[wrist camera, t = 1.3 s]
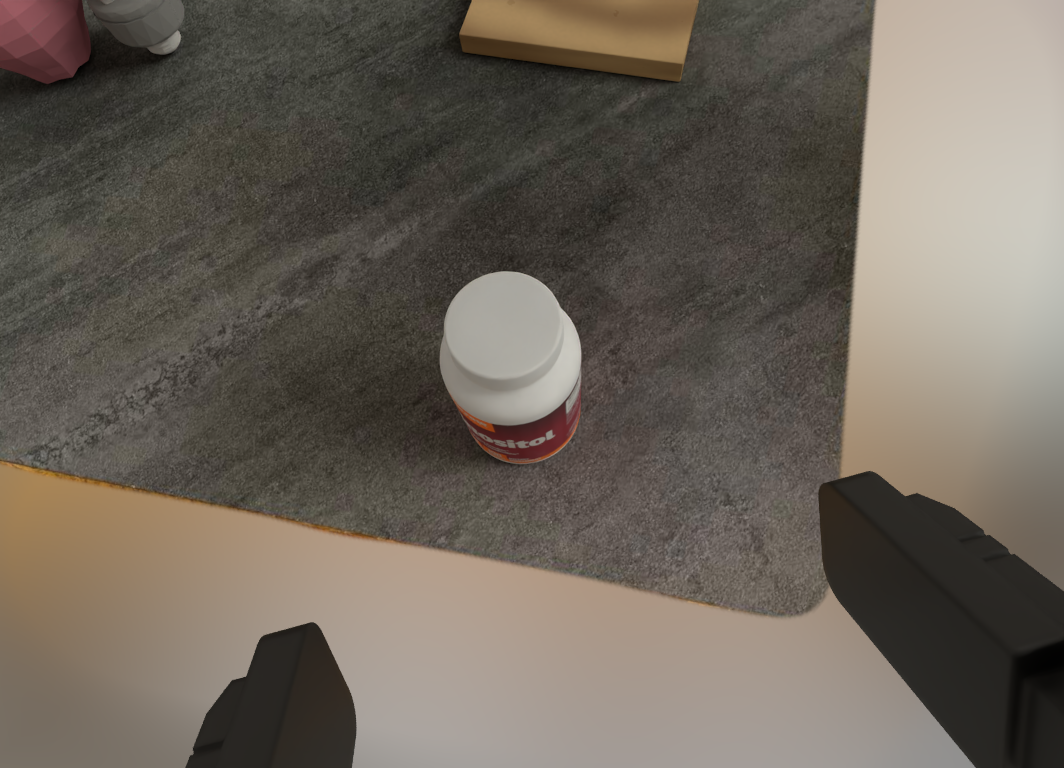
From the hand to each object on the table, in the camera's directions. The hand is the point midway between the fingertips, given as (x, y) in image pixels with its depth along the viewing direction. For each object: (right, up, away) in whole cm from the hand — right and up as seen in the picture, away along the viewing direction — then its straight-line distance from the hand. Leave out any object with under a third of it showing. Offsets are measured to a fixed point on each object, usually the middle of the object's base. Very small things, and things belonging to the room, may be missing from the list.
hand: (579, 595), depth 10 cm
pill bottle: (-1, +2, +26) cm, 26 cm away
